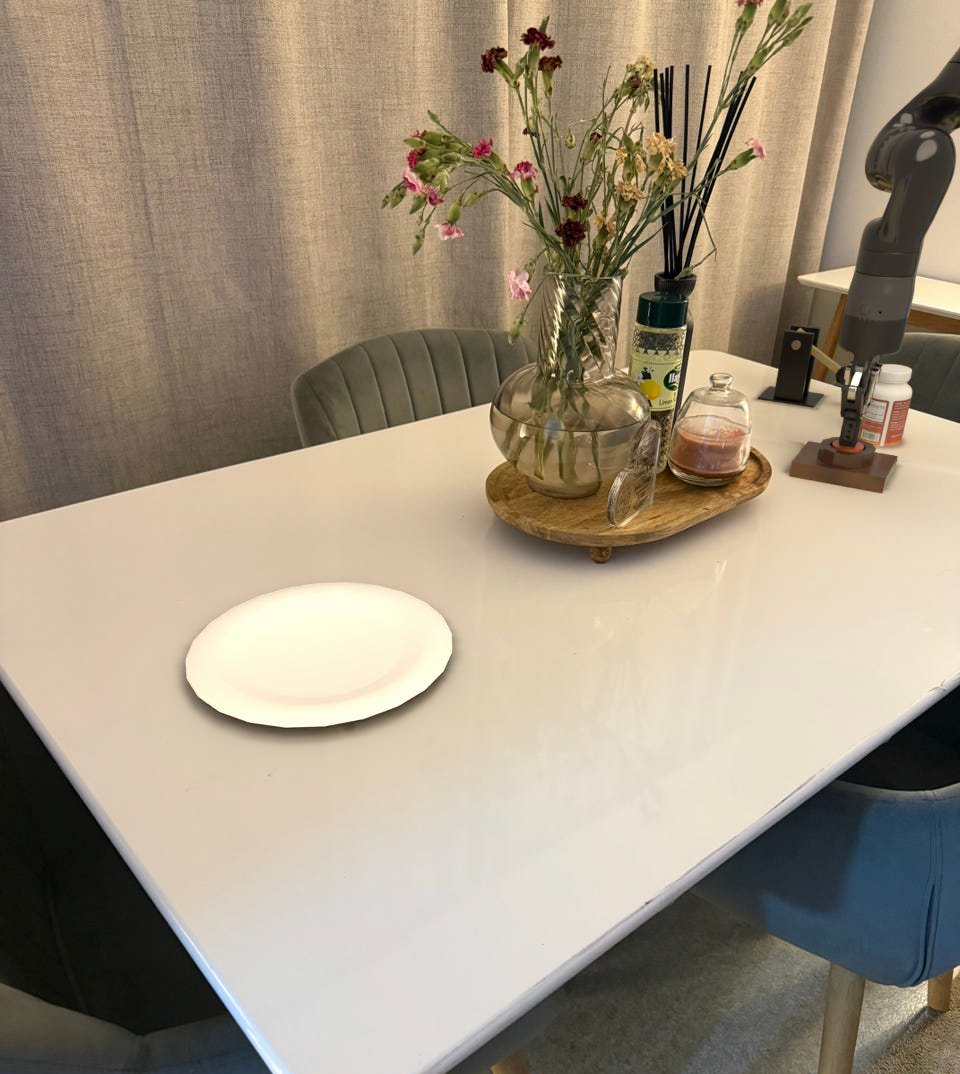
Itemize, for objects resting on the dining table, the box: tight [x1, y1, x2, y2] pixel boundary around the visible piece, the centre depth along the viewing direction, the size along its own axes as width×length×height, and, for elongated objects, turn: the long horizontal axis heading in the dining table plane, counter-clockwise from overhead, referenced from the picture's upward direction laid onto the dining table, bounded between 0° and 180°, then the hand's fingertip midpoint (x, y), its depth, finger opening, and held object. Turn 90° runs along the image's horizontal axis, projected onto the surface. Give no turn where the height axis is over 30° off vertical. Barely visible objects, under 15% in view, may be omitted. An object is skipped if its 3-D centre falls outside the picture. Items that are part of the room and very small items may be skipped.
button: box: [832, 440, 864, 452], centre depth 123 cm, size 4×4×2 cm
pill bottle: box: [859, 363, 913, 447], centre depth 131 cm, size 6×6×11 cm
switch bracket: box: [757, 324, 825, 409], centre depth 147 cm, size 9×7×12 cm
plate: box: [184, 581, 453, 730], centre depth 87 cm, size 25×25×2 cm
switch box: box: [788, 436, 899, 495], centre depth 124 cm, size 12×9×4 cm
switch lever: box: [797, 328, 848, 387], centre depth 145 cm, size 12×3×3 cm, turn 60°
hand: (847, 444), depth 123 cm, fingers closed
